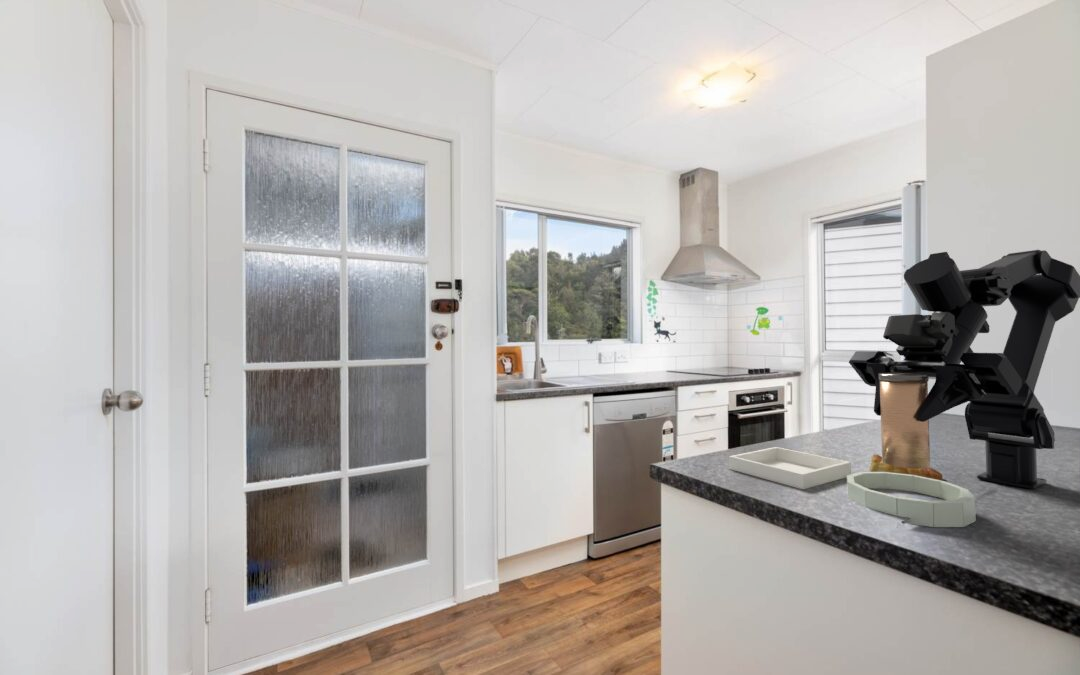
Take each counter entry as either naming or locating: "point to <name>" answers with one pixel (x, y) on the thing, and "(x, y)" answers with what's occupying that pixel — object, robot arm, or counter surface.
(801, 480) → the tray
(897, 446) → the canister
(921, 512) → the bowl
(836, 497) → the counter surface
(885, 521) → the counter surface
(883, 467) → the pastry
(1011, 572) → the counter surface
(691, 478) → the counter surface
